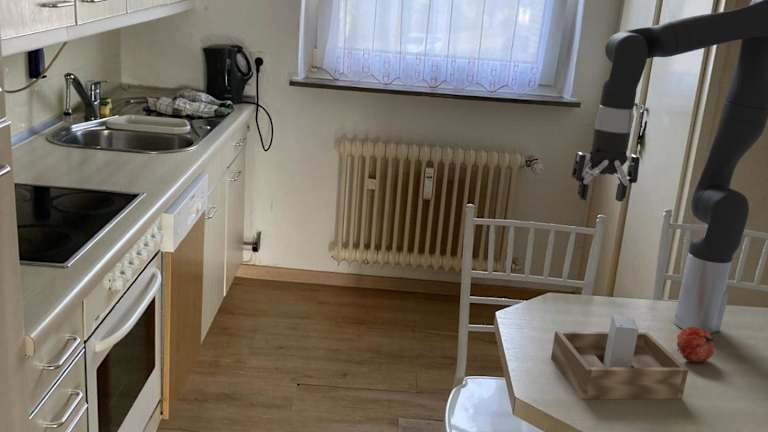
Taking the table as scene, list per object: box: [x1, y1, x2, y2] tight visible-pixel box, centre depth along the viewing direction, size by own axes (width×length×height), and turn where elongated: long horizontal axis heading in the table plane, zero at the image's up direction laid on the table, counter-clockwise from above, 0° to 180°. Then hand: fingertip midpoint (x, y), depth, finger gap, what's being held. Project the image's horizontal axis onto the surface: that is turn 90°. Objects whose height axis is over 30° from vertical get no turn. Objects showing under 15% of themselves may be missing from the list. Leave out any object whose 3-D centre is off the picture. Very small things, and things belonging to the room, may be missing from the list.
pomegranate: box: [676, 326, 716, 363], centre depth 162 cm, size 7×7×10 cm
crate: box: [550, 330, 689, 400], centre depth 151 cm, size 20×16×6 cm
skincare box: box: [603, 314, 640, 367], centre depth 150 cm, size 6×4×12 cm
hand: (600, 200), depth 171 cm, fingers open, 8 cm apart
